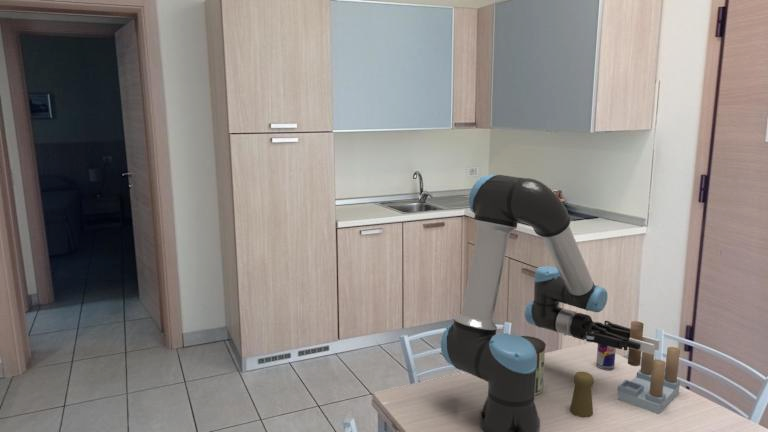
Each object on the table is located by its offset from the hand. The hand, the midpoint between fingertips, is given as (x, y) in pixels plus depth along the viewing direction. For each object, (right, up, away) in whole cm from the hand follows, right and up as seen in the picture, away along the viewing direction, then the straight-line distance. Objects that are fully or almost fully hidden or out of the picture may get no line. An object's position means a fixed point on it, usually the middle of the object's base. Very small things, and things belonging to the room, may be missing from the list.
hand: (656, 347), depth 154 cm
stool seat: (+2, -16, +8) cm, 18 cm away
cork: (-20, -18, 0) cm, 27 cm away
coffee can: (-32, -15, +13) cm, 38 cm away
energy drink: (-3, -12, +27) cm, 30 cm away
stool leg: (-4, -6, +5) cm, 9 cm away
